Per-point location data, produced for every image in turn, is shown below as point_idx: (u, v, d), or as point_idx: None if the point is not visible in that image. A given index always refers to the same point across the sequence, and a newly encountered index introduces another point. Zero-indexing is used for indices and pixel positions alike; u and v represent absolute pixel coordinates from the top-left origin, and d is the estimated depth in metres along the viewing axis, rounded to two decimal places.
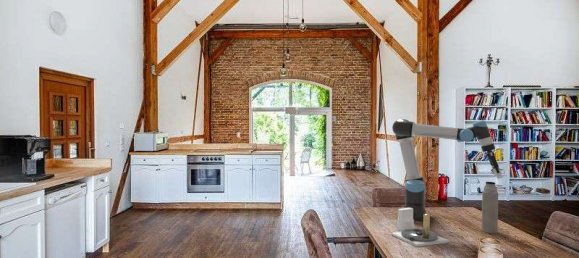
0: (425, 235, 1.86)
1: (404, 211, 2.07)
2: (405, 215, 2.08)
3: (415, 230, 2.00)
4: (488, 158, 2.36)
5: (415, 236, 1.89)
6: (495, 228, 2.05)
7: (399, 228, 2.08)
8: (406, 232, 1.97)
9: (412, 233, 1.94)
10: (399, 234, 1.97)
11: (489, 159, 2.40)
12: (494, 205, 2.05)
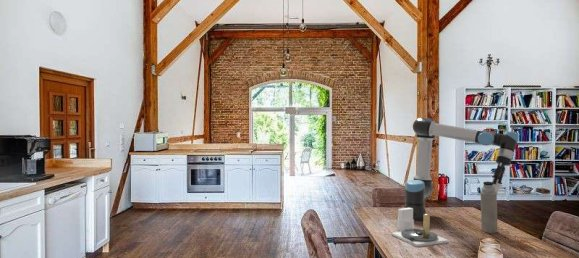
0: (425, 235, 1.86)
1: (404, 211, 2.07)
2: (405, 215, 2.08)
3: (415, 230, 2.00)
4: None
5: (415, 236, 1.89)
6: (495, 228, 2.05)
7: (399, 228, 2.08)
8: (406, 232, 1.97)
9: (412, 233, 1.94)
10: (399, 234, 1.97)
11: None
12: (493, 206, 2.03)
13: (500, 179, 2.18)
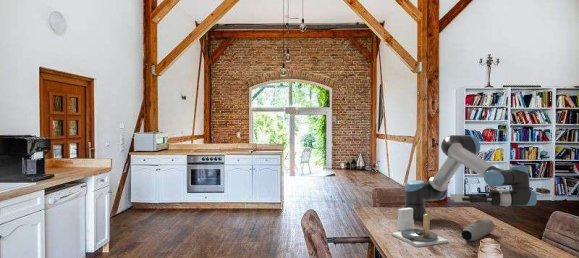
0: (425, 235, 1.86)
1: (404, 211, 2.07)
2: (405, 215, 2.08)
3: (415, 230, 2.00)
4: (477, 194, 1.86)
5: (415, 236, 1.89)
6: (492, 230, 2.02)
7: (399, 228, 2.08)
8: (406, 232, 1.97)
9: (412, 233, 1.94)
10: (399, 234, 1.97)
11: (473, 194, 1.90)
12: (482, 236, 1.93)
13: None
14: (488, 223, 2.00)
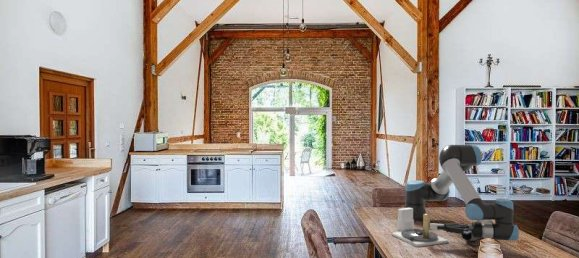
0: (425, 235, 1.86)
1: (404, 211, 2.07)
2: (405, 215, 2.08)
3: (415, 230, 2.00)
4: (459, 224, 1.83)
5: (415, 236, 1.89)
6: None
7: (399, 228, 2.08)
8: (406, 232, 1.97)
9: (412, 233, 1.94)
10: (399, 234, 1.97)
11: (453, 224, 1.86)
12: None
13: None
14: None
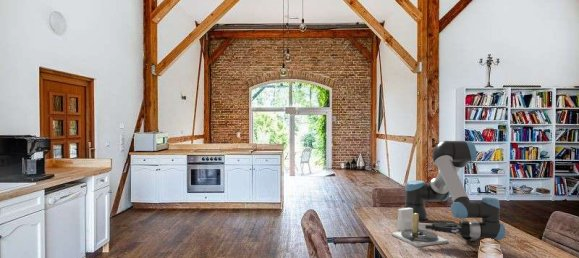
0: (412, 234, 1.88)
1: (404, 211, 2.07)
2: (405, 215, 2.08)
3: (424, 231, 1.98)
4: (447, 223, 1.84)
5: (408, 234, 1.93)
6: None
7: (399, 228, 2.08)
8: (411, 230, 2.00)
9: None
10: (399, 234, 1.97)
11: (441, 223, 1.87)
12: None
13: None
14: None
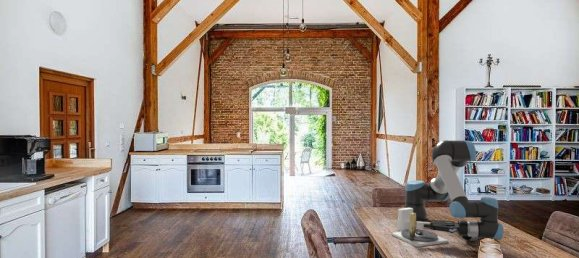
0: (409, 233, 1.89)
1: (404, 211, 2.07)
2: (405, 215, 2.08)
3: (426, 232, 1.97)
4: (445, 222, 1.85)
5: (408, 233, 1.94)
6: None
7: (399, 228, 2.08)
8: None
9: None
10: (399, 234, 1.97)
11: (440, 222, 1.88)
12: None
13: None
14: None
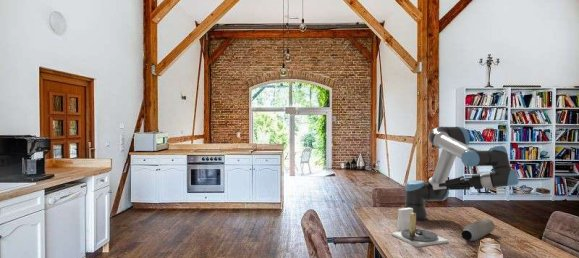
0: (409, 233, 1.89)
1: (404, 211, 2.07)
2: (405, 215, 2.08)
3: (426, 232, 1.97)
4: None
5: (408, 233, 1.94)
6: (492, 230, 2.02)
7: (399, 228, 2.08)
8: None
9: None
10: (399, 234, 1.97)
11: None
12: (482, 236, 1.93)
13: (453, 186, 1.90)
14: (488, 223, 2.00)
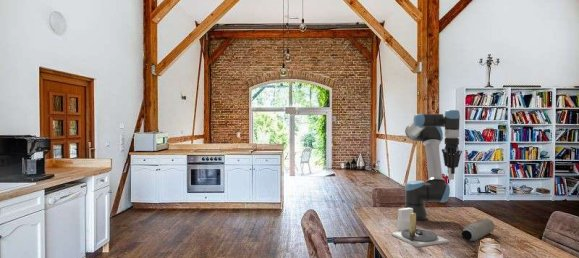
0: (409, 233, 1.89)
1: (404, 211, 2.07)
2: (405, 215, 2.08)
3: (426, 232, 1.97)
4: (455, 154, 2.07)
5: (408, 233, 1.94)
6: (492, 230, 2.02)
7: (399, 228, 2.08)
8: None
9: None
10: (399, 234, 1.97)
11: None
12: (482, 236, 1.93)
13: (451, 161, 2.06)
14: (488, 223, 2.00)
